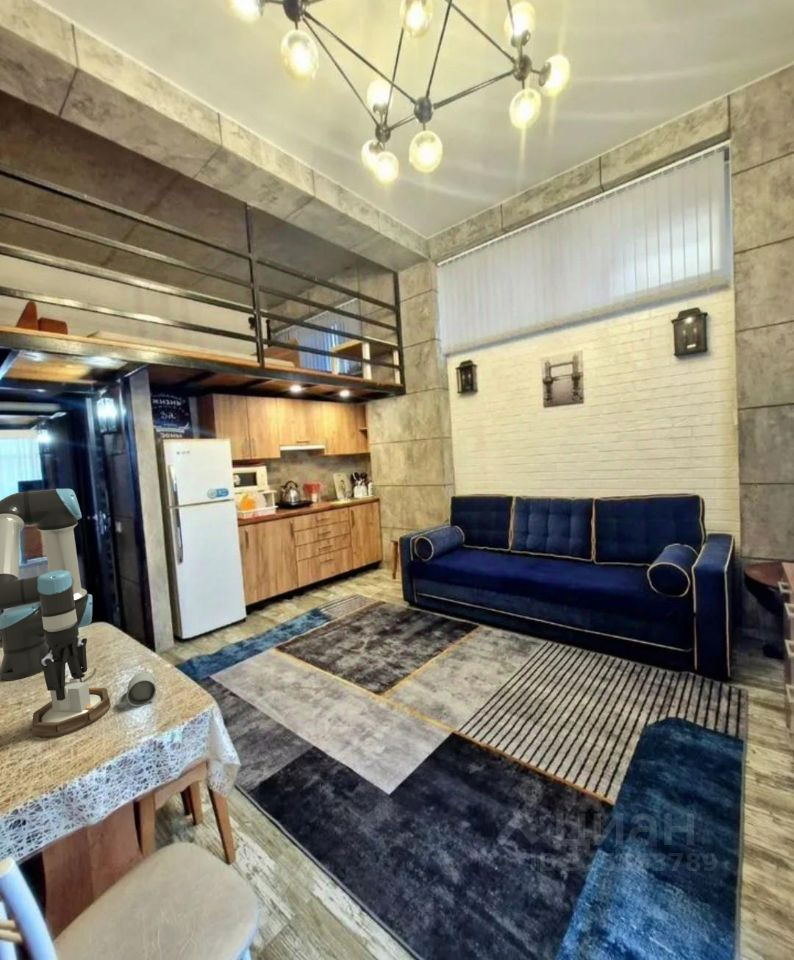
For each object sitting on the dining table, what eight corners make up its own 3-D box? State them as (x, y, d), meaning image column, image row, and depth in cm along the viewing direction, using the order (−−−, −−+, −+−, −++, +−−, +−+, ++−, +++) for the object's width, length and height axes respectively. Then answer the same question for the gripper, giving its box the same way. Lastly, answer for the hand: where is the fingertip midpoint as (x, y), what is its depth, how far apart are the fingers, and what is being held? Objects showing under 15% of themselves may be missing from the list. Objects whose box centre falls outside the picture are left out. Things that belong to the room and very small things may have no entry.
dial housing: (34, 716, 124) (32, 704, 124) (107, 691, 135) (106, 679, 135) (30, 748, 110) (28, 734, 110) (113, 717, 121) (111, 704, 121)
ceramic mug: (156, 688, 135) (153, 665, 134) (157, 700, 128) (154, 676, 127) (116, 701, 129) (113, 677, 129) (116, 715, 122) (112, 690, 122)
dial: (28, 727, 117) (24, 699, 116) (71, 697, 130) (68, 672, 129) (73, 727, 115) (69, 699, 114) (112, 697, 128) (109, 672, 128)
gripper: (73, 614, 129) (83, 688, 131) (20, 639, 113) (32, 723, 115) (96, 614, 128) (105, 688, 130) (46, 639, 112) (57, 723, 114)
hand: (71, 704), depth 122 cm, fingers closed on dial, 3 cm apart
